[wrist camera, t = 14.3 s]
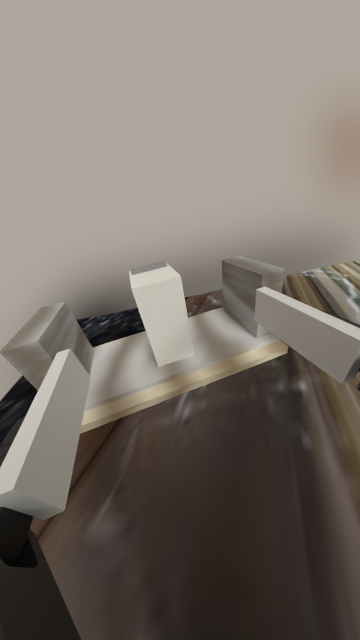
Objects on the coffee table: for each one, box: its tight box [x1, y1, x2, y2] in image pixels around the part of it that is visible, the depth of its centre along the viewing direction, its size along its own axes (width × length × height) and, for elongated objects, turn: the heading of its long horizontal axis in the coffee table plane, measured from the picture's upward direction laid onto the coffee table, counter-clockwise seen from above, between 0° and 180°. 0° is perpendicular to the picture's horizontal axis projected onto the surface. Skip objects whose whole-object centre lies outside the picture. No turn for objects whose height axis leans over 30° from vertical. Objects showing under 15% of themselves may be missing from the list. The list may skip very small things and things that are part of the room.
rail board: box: [0, 256, 288, 434], centre depth 23 cm, size 29×14×11 cm, turn 107°
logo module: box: [129, 261, 194, 367], centre depth 22 cm, size 5×7×11 cm
